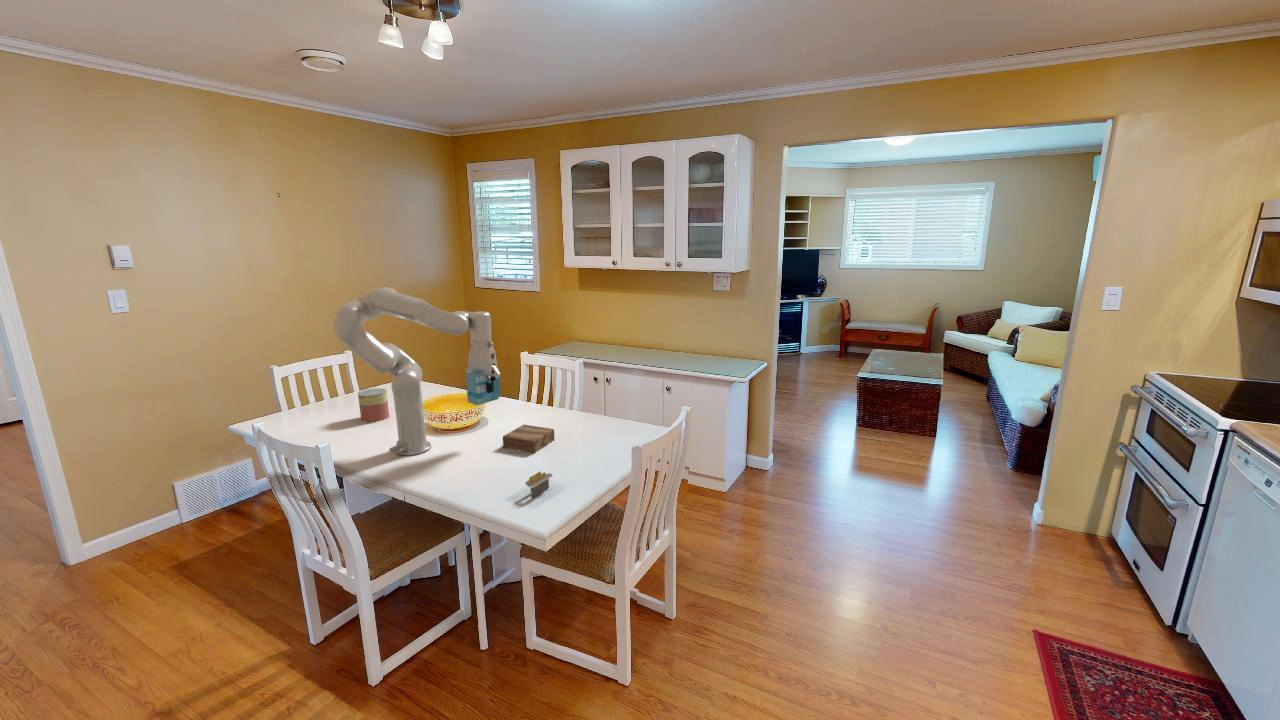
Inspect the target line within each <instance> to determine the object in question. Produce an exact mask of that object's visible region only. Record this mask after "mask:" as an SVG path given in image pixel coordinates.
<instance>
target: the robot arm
mask: <svg viewBox="0 0 1280 720" xmlns="http://www.w3.org/2000/svg"><path fill="white" fill-rule="evenodd" d="M383 314H384V315H388V316H392V317H396V318H398V319H401V320H402V319H403V320H406V321H410V322H413V323H417V324H418V325H421V326H424V327H427V328H429V329H432V330H434V331H435V330H436V331H438V332H442V333H445V334H449V335H453V336H454V335H455V336H461V335H463V334H465V333H466V332H467V331H468V330H469V333H470V348H469V352H468V366H466V369H465V373H466V375H467V374H468V373H469V372H473V371H474V372H482V373H483V374H484V375H485V376H486V377H487V380H488V383H487V393H491V392H493V391H494V381H495V380H496V379H497V378H498V377H499V378H500V376H501V372H500V371H499V369H498V363H497V362H498V361H497V355H496V351H495V348H494V347H495V343H494V342H493V340H492V338H493V337H492V319H491V313H490V312H488V311H484V310H483V311H467V310H465V311H463V310H456V311H453V312H450V311H447V310H443V309H440V308H438V307H435V306H433V305H432V304H430V303H428V302H427V301H426V300H425V299H422V298H418V297H415V296H411V295H409V294H404V293H402V292H398V291H397V290H396V289H394V288H393V287H390V286H389V287H388V286H384V287H380V288H378V289H377V290H376V289H375V290H374V291H372V292H370V293H368V294H365V295H363V296H360V297H359V298H356V299H354V300H351V301H349V302H348V303H346V304H343V305H342V306H341V307H340V308H339V309H338V310H337V312H336V313H335V316H334V321H333V330H334V333H335V335H336V336H337V338H338V340H340V342H341V343H342V344H343V345H344V346H346V347H347V348H348V349H349V350H350V351H352V352H353V353H354V354H355V355H356V356H357V357H358V358H359V359H360V360H362V361H363V362H364V363H366V364H367V366H369V367H370V368H371V369H372V370H374V371H375V372H377V373H379V374H387V373H388V374H389V375H390V376H391V377H392V378H391V391H392V396H393V401H394V409H395V410H394V411H395V418H396V426H397V428H396V429H397V436H398V437H397V438H398V440H397V441H396V444H395V445H394V446H391V447H390V448H389V449H388V451H389V452H390V453H391V454H393V453H396V454H397V455H400V456H414V455H420V454H422V453H425V452H428V451H429V450H430V449H431V448H432V443H431V442H430V441H428V440H427V435H426V423H425V416H424V415H425V414H424V402H423V395H422V386H421V385H422V384H421V383H422V380H423V378H424V377H423V376H424V374H423V373H424V372H423V370H422V368H421V366H420V365H419V364H418V363H417V362H416V361H415V360H414V359H412V357H410V356H409V355H407V353H405V352H404V351H403V350H402V349H401V348H399V347H398V346H397V345H395V344H394V343H390V342H383V343H382V342H381V341H379V340H378V339H377V338H376V337H375V336H374V335H373V334H372V333H370V332H369V331H367V330H366V329H364V327H363V324H364V323H366V322H367V321H370V320H372V319H374V318H376V317H378V316H381V315H383ZM492 371H493V373H492ZM494 373H495V375H494V376H493V374H494ZM490 377H491V378H490Z"/></svg>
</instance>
